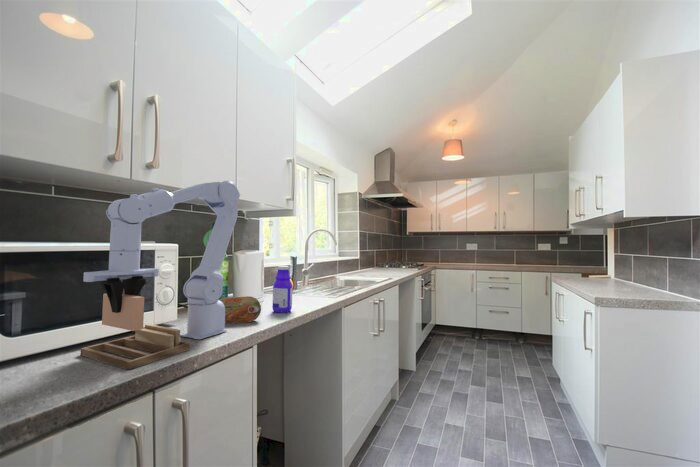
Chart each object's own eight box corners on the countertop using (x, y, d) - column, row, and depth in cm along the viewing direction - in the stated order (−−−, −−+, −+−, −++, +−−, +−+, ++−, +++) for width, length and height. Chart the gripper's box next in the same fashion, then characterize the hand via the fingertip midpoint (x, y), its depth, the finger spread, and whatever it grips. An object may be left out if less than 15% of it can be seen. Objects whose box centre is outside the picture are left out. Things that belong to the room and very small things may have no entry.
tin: (210, 324, 96) (211, 297, 97) (212, 322, 99) (213, 296, 100) (260, 322, 101) (261, 296, 101) (260, 320, 104) (261, 295, 104)
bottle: (294, 310, 119) (295, 265, 120) (287, 313, 113) (288, 266, 114) (276, 309, 120) (277, 265, 121) (269, 312, 115) (271, 266, 116)
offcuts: (147, 341, 79) (147, 323, 79) (182, 349, 73) (183, 330, 73) (133, 345, 76) (134, 326, 76) (169, 353, 70) (170, 334, 70)
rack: (143, 338, 81) (143, 333, 81) (190, 349, 73) (190, 343, 74) (80, 355, 69) (80, 348, 69) (128, 369, 61) (129, 362, 61)
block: (111, 322, 72) (112, 292, 73) (143, 328, 67) (144, 296, 68) (101, 324, 71) (103, 293, 71) (133, 331, 66) (134, 298, 66)
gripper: (146, 250, 78) (144, 304, 77) (77, 250, 65) (73, 315, 64) (164, 251, 75) (162, 306, 75) (95, 251, 62) (92, 319, 61)
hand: (122, 311), depth 69 cm, fingers closed on block, 2 cm apart
